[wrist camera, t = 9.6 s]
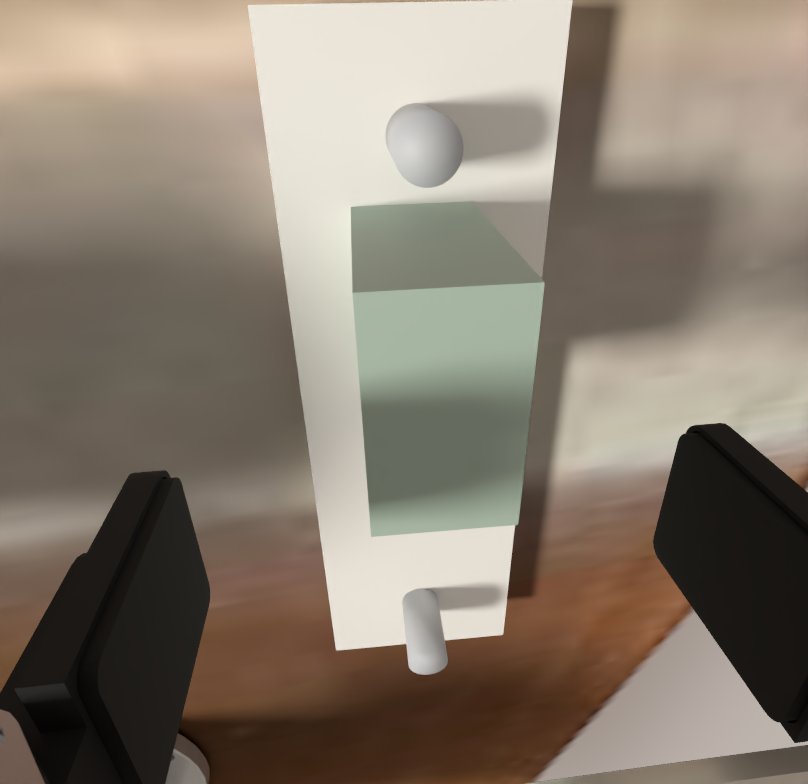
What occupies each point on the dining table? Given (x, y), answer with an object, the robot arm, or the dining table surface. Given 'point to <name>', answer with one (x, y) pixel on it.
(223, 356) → the dining table surface
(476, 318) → the tall sage green block
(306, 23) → the white peg board
